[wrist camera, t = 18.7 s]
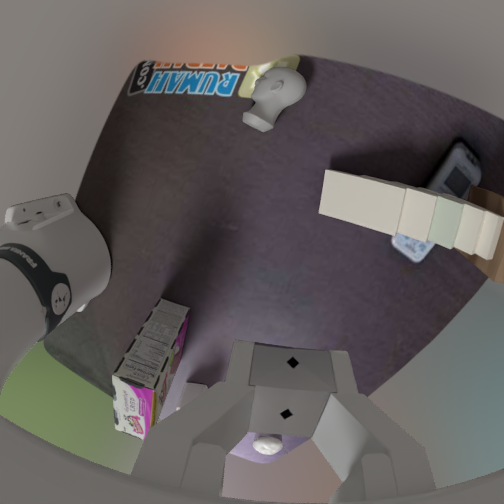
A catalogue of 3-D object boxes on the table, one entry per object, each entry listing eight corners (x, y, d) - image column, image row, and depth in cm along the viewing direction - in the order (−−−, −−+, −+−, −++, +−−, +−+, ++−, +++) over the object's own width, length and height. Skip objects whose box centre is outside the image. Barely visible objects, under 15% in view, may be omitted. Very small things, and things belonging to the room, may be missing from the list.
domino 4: (409, 226, 34) (471, 255, 27) (417, 187, 32) (483, 211, 26) (415, 226, 35) (475, 253, 28) (423, 187, 33) (486, 211, 26)
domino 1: (318, 213, 34) (394, 235, 30) (325, 169, 33) (405, 189, 28) (324, 211, 36) (397, 232, 31) (330, 169, 34) (407, 188, 29)
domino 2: (352, 217, 34) (425, 242, 29) (360, 175, 32) (436, 196, 27) (357, 216, 36) (427, 239, 30) (365, 175, 34) (438, 196, 28)
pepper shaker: (210, 398, 49) (199, 441, 40) (187, 396, 49) (174, 437, 41) (208, 383, 48) (196, 427, 39) (184, 380, 48) (169, 423, 39)
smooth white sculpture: (282, 66, 31) (315, 91, 30) (236, 115, 34) (268, 142, 33) (273, 50, 27) (311, 76, 26) (222, 104, 29) (257, 134, 29)
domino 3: (382, 222, 34) (450, 249, 28) (391, 181, 32) (462, 204, 26) (388, 221, 35) (453, 246, 29) (396, 181, 33) (465, 203, 27)
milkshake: (289, 414, 49) (289, 460, 40) (260, 417, 50) (255, 462, 41) (285, 398, 48) (284, 446, 38) (254, 401, 48) (248, 448, 39)
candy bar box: (182, 362, 46) (150, 444, 31) (152, 352, 46) (113, 430, 31) (193, 306, 42) (154, 392, 27) (159, 295, 42) (108, 374, 27)
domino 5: (433, 230, 35) (486, 259, 27) (442, 192, 33) (498, 216, 25) (440, 231, 35) (492, 259, 27) (449, 194, 33) (504, 217, 25)
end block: (455, 248, 36) (493, 281, 26) (471, 184, 32) (516, 203, 23) (475, 252, 36) (514, 284, 26) (491, 191, 32) (536, 211, 23)
